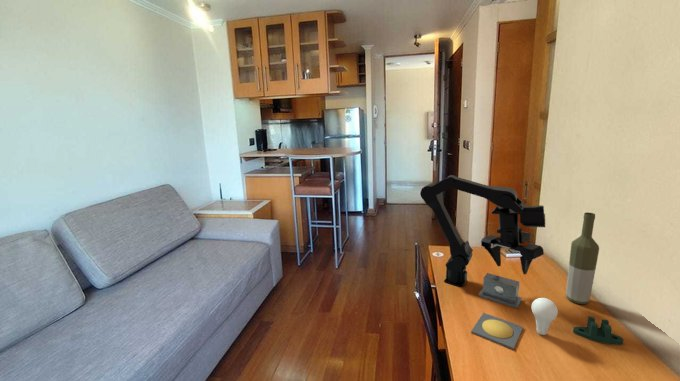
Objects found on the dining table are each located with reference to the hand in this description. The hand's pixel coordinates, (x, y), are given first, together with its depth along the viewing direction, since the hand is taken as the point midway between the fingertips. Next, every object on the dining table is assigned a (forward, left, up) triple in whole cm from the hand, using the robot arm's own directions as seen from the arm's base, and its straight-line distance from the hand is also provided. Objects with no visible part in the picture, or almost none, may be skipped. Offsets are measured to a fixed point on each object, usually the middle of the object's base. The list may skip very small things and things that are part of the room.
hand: (511, 269), depth 106 cm
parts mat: (+2, -22, -9) cm, 24 cm away
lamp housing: (-2, -4, -9) cm, 10 cm away
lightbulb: (+12, -16, -10) cm, 22 cm away
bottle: (+18, +10, -10) cm, 23 cm away
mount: (+24, -8, -10) cm, 27 cm away
